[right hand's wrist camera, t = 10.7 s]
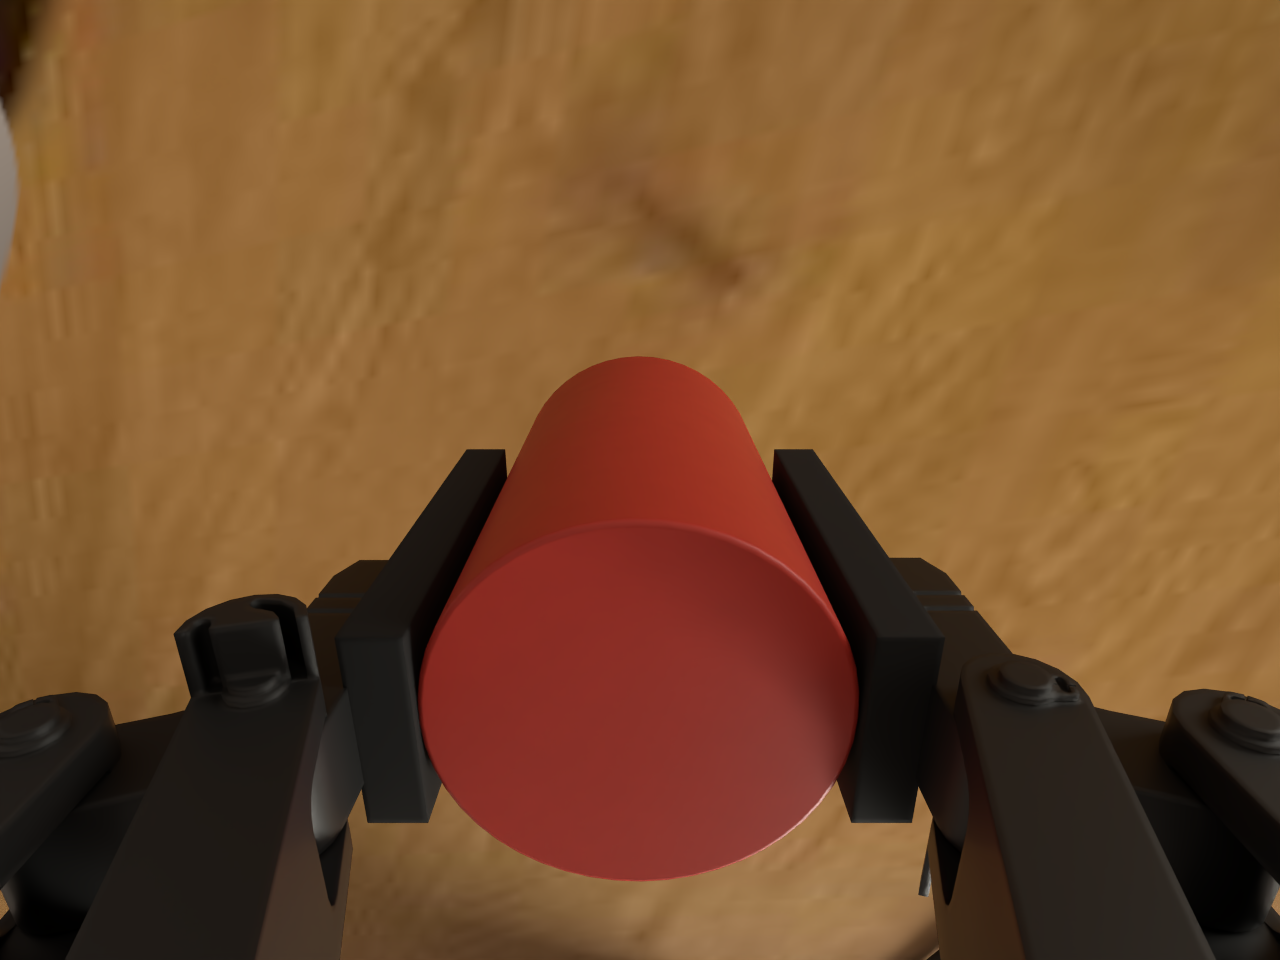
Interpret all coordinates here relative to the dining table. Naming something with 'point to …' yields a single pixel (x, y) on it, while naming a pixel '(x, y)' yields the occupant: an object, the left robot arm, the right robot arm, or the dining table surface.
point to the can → (638, 641)
